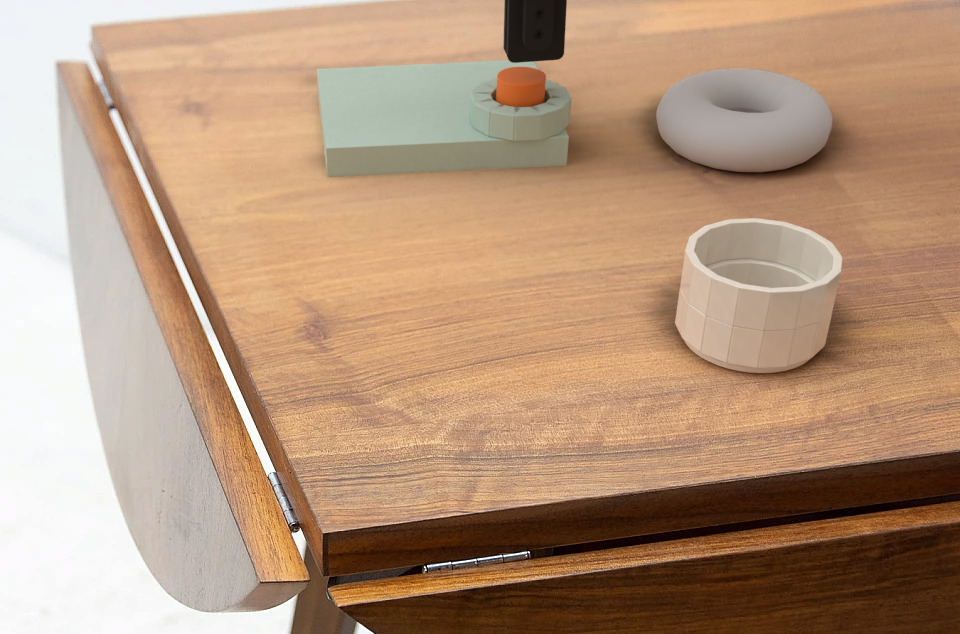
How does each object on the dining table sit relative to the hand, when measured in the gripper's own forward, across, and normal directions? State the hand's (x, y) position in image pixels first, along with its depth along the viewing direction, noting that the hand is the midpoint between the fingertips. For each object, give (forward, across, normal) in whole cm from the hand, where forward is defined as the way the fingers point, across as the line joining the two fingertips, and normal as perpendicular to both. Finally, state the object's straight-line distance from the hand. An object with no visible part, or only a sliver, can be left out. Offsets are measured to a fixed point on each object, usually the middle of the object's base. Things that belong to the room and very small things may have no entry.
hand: (533, 55), depth 79 cm
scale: (+6, +4, +5) cm, 9 cm away
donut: (+6, -1, -12) cm, 14 cm away
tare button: (+3, 0, +1) cm, 3 cm away
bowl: (+6, -21, -7) cm, 23 cm away
